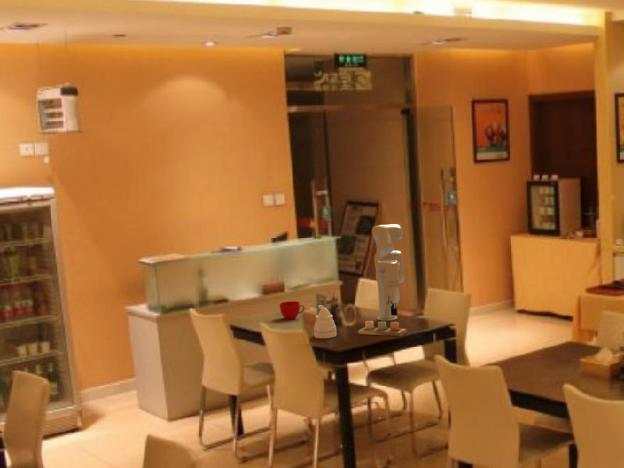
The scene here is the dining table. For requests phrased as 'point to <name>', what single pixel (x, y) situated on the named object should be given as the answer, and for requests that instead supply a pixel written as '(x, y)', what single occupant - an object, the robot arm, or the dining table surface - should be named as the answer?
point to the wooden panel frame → (382, 331)
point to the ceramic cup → (290, 309)
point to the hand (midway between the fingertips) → (394, 315)
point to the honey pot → (324, 324)
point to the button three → (394, 326)
